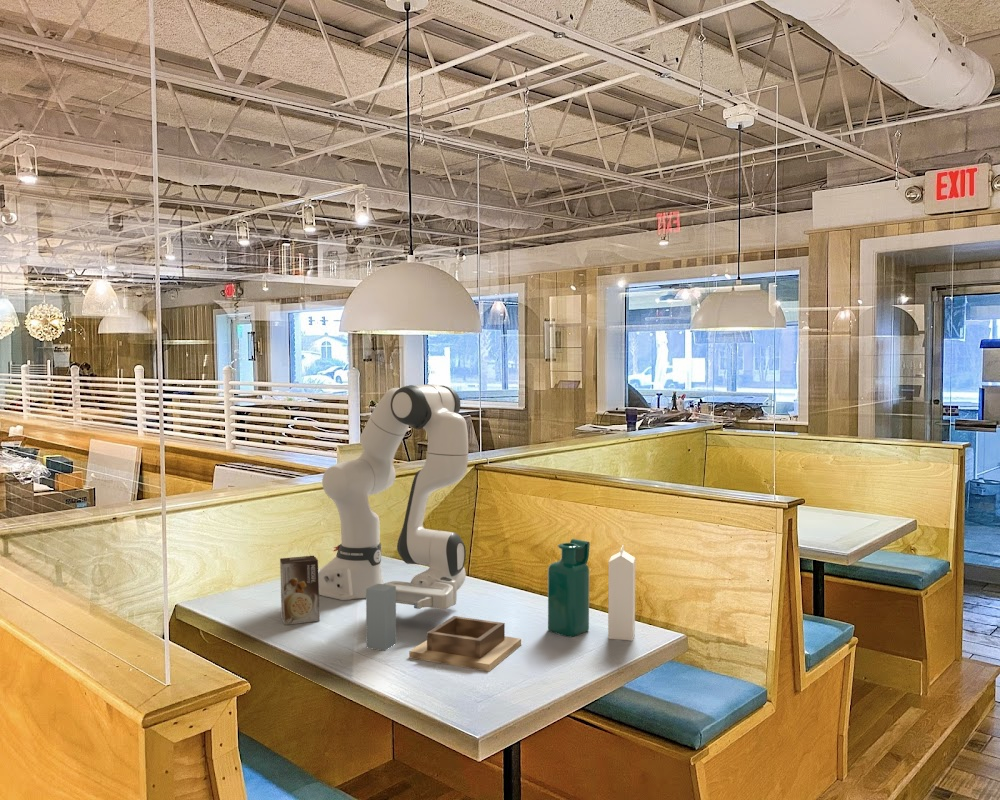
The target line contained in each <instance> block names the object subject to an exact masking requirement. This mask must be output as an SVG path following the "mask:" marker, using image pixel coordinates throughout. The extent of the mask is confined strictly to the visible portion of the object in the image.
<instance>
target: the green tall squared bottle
mask: <svg viewBox="0 0 1000 800" xmlns="http://www.w3.org/2000/svg"><path fill="white" fill-rule="evenodd" d="M557 547H558V548H559V549H561V550H560V551H561V557H560V559H559V560H558V561H555V562H552V563H550V564H549V566H548V569H547V630H548V631H549V632H550V633H554V634H556V635H561V636H564V637H568V638H573V637H577V636H579V635H581V634H584V633H586V632H588V631H589V629H590V569H589V566H588V560H589V557H590V541H588V540H587V541H586V540H582V539H576V538H572V539H571V540H570V542H564V543H563V542H562V543H559V544H558V545H557Z"/></svg>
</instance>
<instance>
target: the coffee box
mask: <svg viewBox="0 0 1000 800" xmlns="http://www.w3.org/2000/svg"><path fill="white" fill-rule="evenodd" d="M279 563H280V564H279V565H280V566H279V568H280V570H279V571H280V572H279V573H280V603H281V604H280V606H281V607H280V608H281V609H280V611H281V620H282V622H283V624H284V626H289V625H296V624H304V623H310V622H312V623H313V622H320V621H321V619H320V615H321V614H320V595H319V578H318V573H319V560H318V558H317V557H315V555H305V556H294V557H283V558H279Z"/></svg>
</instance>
